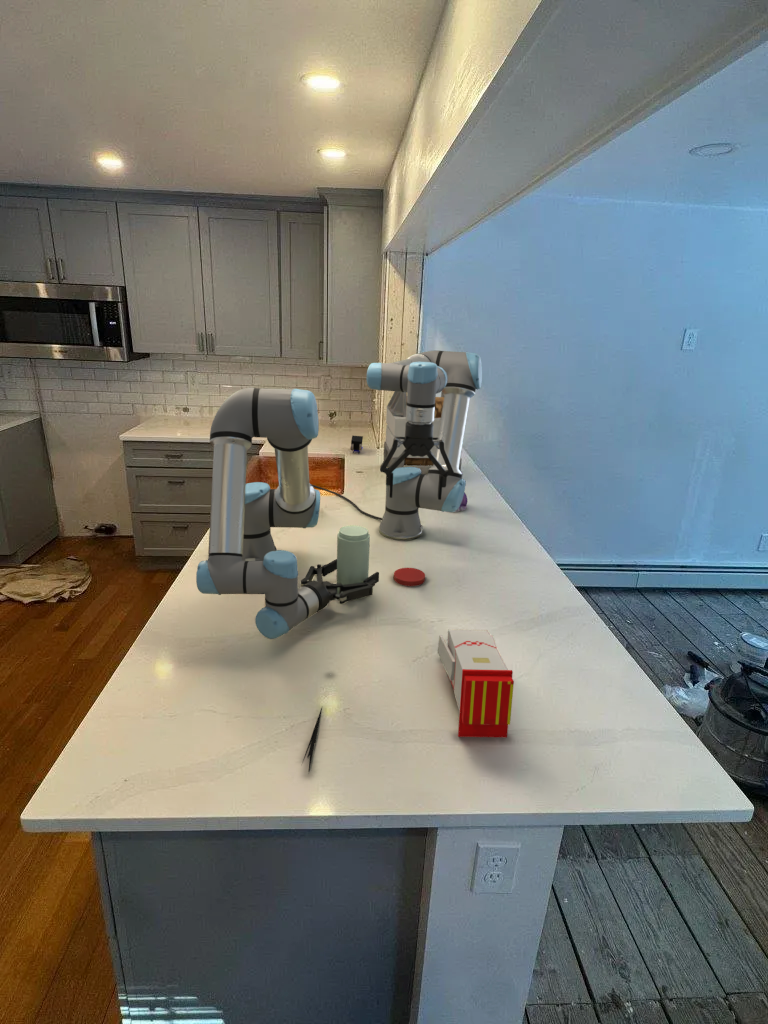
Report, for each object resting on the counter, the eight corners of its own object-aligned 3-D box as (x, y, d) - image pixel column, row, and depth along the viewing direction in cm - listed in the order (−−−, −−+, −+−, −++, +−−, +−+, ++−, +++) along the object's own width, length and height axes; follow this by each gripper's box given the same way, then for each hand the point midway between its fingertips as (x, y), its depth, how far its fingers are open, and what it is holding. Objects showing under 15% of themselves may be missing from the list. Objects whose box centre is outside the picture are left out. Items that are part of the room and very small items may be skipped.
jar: (372, 597, 155) (374, 534, 149) (341, 601, 152) (342, 538, 146) (361, 583, 163) (363, 523, 157) (332, 587, 160) (333, 526, 154)
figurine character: (362, 457, 305) (363, 447, 318) (362, 443, 301) (363, 434, 315) (350, 456, 304) (351, 447, 318) (350, 443, 301) (351, 434, 314)
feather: (331, 679, 122) (336, 673, 122) (307, 777, 96) (313, 769, 95) (324, 675, 122) (329, 669, 121) (298, 772, 95) (304, 764, 95)
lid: (431, 581, 166) (432, 576, 166) (407, 589, 161) (407, 584, 160) (410, 569, 173) (411, 564, 172) (387, 577, 167) (387, 572, 167)
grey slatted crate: (382, 463, 289) (386, 382, 275) (445, 464, 293) (451, 384, 279) (390, 482, 257) (394, 392, 243) (460, 483, 261) (468, 394, 247)
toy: (488, 613, 130) (523, 677, 101) (484, 667, 133) (517, 744, 104) (435, 612, 130) (455, 676, 101) (432, 666, 133) (451, 743, 103)
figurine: (454, 513, 222) (457, 476, 217) (439, 505, 230) (442, 470, 225) (473, 510, 226) (477, 474, 221) (459, 503, 234) (462, 468, 229)
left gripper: (271, 598, 147) (321, 570, 165) (349, 628, 135) (395, 594, 152) (270, 572, 145) (321, 546, 162) (350, 601, 133) (396, 569, 150)
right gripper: (372, 422, 148) (370, 499, 155) (468, 426, 148) (461, 503, 155) (373, 417, 155) (370, 491, 162) (464, 421, 155) (457, 494, 162)
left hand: (357, 569), depth 157 cm, fingers open, 13 cm apart
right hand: (415, 497), depth 159 cm, fingers open, 13 cm apart
